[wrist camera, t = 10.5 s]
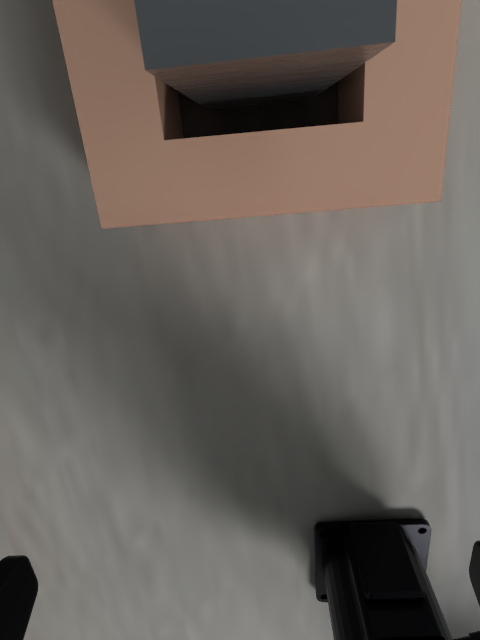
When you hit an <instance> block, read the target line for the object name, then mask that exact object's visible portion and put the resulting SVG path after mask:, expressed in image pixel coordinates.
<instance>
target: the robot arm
mask: <svg viewBox="0 0 480 640" xmlns="http://www.w3.org/2000/svg"><path fill="white" fill-rule="evenodd" d="M430 537H431V527H430V525H429V523H428V521H427V520H425V519H393V520H365V521H336V522H320V523H318V524H316V525H315V528H314V539H315V588H316V597H317V599H318V600H319V601H321V602H328V605H329V611H330V617H331V623H332V630H333V636H334V640H480V631H477V632H472V633H469V635H470V636H466V637H462V638H458V639H452V636H451V634H450V631H449V629H448V626H447V624H446V621H445V619H444V616H443V614H442V611H441V609H440V606H439V604H438V601H437V599H436V596H435V594H434V591H433V589H432V586H431V583H430V581H429V578H428V576H427V573H426V566H427V559H428V551H429V544H430ZM469 575H470V580H471V583H472V586H473V589H474V592H475V594H476V597H477V600H478V603H479V606H480V541H476V542H475V543H474V546H473V551H472V556H471V561H470V567H469ZM37 592H38V580H37V578H36V575H35V573H34V570H33V568H32V566H31V563H30V561H29V559H28V557H26V556H24V555H20V556H7V557H5V558H3V559H2V560H1V561H0V640H23V639H24V635H25V632H26V629H27V626H28V622H29V619H30V616H31V612H32V609H33V606H34V602H35V599H36V596H37Z"/></svg>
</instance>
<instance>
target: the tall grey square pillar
mask: <svg viewBox="0 0 480 640" xmlns="http://www.w3.org/2000/svg"><path fill="white" fill-rule="evenodd" d="M134 3H135V10H136V16H137V22H138V29H139V35H140V41H141V48H142V54H143V60H144V67H145V71H147V72H149V73H150V74H152V75H153V76H155V77H157V78H158V79H160V80H161V81H163V82H164V83H166V84H168V85H169V86H171V87H172V88H174V89H176V90H177V91H179V92H180V93H182V94H184V95H185V96H187V97H188V98H190V99H191V100H193V101H195V102H196V103H198V104H199V105H201V106H203V107H204V108H206V109H207V110H209V109H218V108H228V107H237V106H247V105H256V104H266V103H275V102H285V101H294V100H303V99H313V98H314V97H316V96H317V95H319V94H320V93H322V92H323V91H325V90H326V89H327V88H329V87H330V86H332V85H333V84H335V83H336V82H338V81H339V80H341V79H342V78H343V77H345V76H346V75H348V74H349V73H351V72H352V71H354V70H355V69H357V68H358V67H359V66H361V65H362V64H364V63H365V62H367V61H368V60H370V59H371V58H373V57H374V56H375V55H377V54H378V53H380V52H381V51H383V50H384V49H386V48H387V47H389V46H390V45H392V44H393V43H394V42H395V36H396V14H397V0H134Z"/></svg>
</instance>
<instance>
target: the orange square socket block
mask: <svg viewBox="0 0 480 640" xmlns="http://www.w3.org/2000/svg"><path fill="white" fill-rule="evenodd" d="M52 1H53V6H54V10H55V15H56V20H57V24H58V29H59V34H60V38H61V43H62V48H63V52H64V57H65V62H66V66H67V71H68V75H69V80H70V85H71V89H72V94H73V99H74V103H75V108H76V113H77V117H78V122H79V127H80V131H81V136H82V140H83V145H84V150H85V154H86V159H87V164H88V168H89V173H90V178H91V182H92V187H93V192H94V196H95V201H96V205H97V210H98V215H99V219H100V224H101V229H107V228H119V227H131V226H144V225H156V224H168V223H181V222H193V221H205V220H218V219H230V218H242V217H255V216H267V215H279V214H292V213H304V212H316V211H329V210H341V209H353V208H366V207H378V206H390V205H403V204H415V203H427V202H440V201H441V198H442V188H443V179H444V169H445V159H446V149H447V140H448V130H449V120H450V110H451V101H452V91H453V81H454V71H455V62H456V52H457V42H458V32H459V23H460V13H461V3H462V0H397V14H396V36H395V42H394V43H393V44H392V45H390V46H389V47H387V48H386V49H384V50H383V51H381V52H380V53H378V54H377V55H375V56H374V57H373V58H371V59H370V60H368V61H367V62H365V63H364V64H362V65H361V66H359V67H358V68H357V69H355V70H354V71H352V72H351V73H349V74H348V75H346V76H345V77H343V78H342V79H341V80H339V109H338V124H333V125H322V126H312V127H301V128H290V129H280V130H269V131H258V132H248V133H237V134H226V135H216V136H205V137H194V138H184V136H183V128H182V120H181V112H180V105H179V97H178V91H177V90H176V89H174V88H172V87H171V86H169V85H168V84H166V83H164V82H163V81H161V80H160V79H158V78H157V77H155V76H153V75H152V74H150V73H149V72H147V71H145V67H144V60H143V54H142V48H141V41H140V35H139V29H138V22H137V16H136V10H135V3H134V0H52Z"/></svg>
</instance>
